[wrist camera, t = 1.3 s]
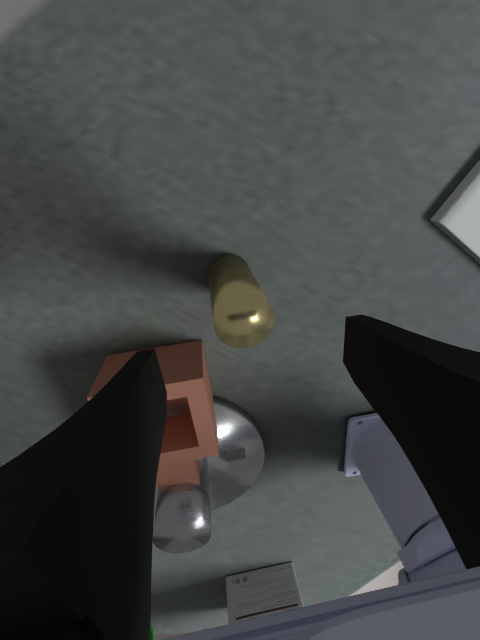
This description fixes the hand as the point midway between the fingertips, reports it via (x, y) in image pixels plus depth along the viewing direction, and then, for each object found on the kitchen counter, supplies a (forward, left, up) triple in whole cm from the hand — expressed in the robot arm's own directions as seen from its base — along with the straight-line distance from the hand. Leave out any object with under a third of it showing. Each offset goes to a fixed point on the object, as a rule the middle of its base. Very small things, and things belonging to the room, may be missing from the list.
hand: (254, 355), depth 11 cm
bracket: (+6, +10, -10) cm, 15 cm away
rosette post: (+6, +16, -10) cm, 20 cm away
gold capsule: (0, 0, -10) cm, 10 cm away
